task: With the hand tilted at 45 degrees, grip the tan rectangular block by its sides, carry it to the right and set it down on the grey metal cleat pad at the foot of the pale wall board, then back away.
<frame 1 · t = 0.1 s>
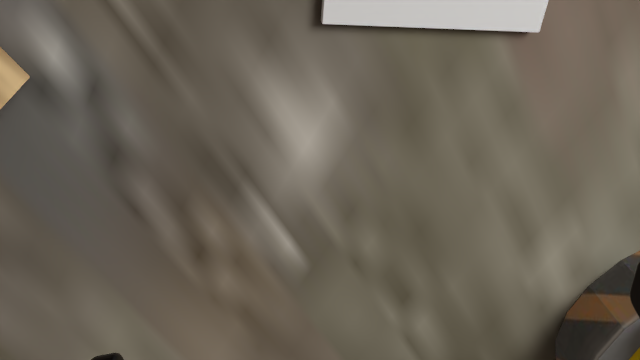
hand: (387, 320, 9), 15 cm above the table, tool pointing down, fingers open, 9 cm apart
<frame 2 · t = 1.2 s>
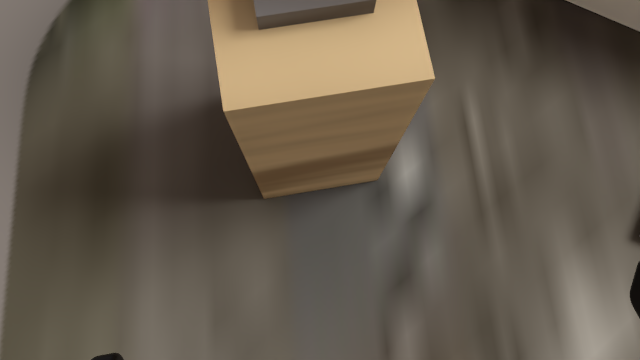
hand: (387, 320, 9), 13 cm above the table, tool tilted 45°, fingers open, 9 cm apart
tan rectangular block: (311, 135, 24), on the table
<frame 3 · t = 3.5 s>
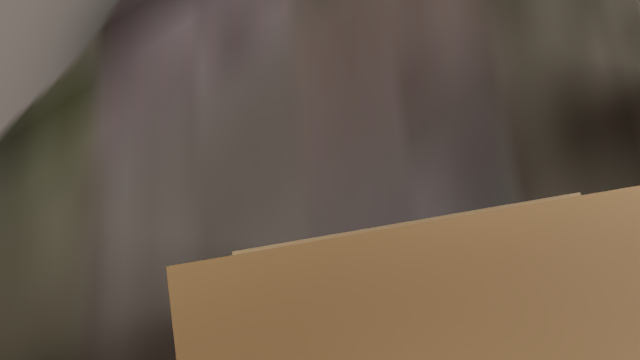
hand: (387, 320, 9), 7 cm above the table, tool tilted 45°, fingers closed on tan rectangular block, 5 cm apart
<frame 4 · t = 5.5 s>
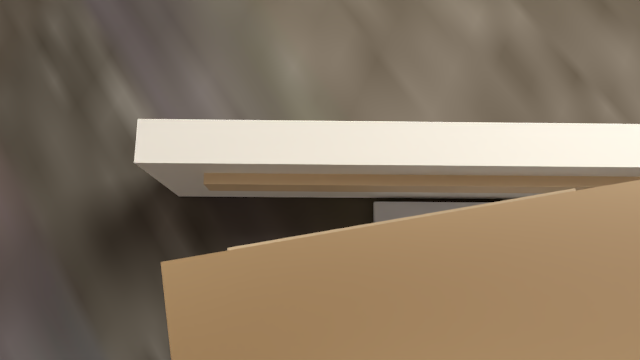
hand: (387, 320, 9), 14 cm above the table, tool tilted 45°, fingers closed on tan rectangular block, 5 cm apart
tan rectangular block: (362, 358, 15), point 7 cm above the table, touching gripper
wall board: (474, 182, 24), on the table
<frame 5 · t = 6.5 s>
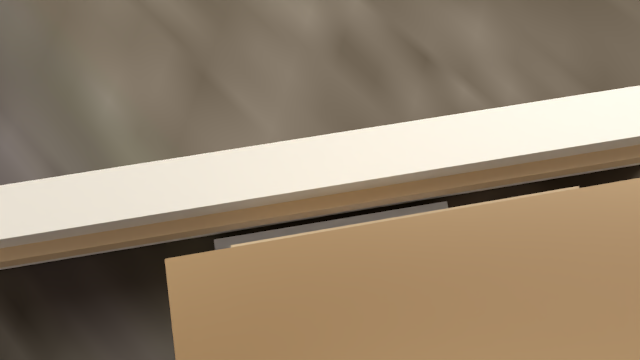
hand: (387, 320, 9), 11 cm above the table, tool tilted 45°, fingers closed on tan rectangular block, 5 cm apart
tan rectangular block: (363, 357, 15), point 5 cm above the table, touching gripper
wall board: (326, 196, 21), on the table
when the fingers open (8 cm above the table, at t = 7.5 s): tan rectangular block drops 1 cm, resting on wall board.
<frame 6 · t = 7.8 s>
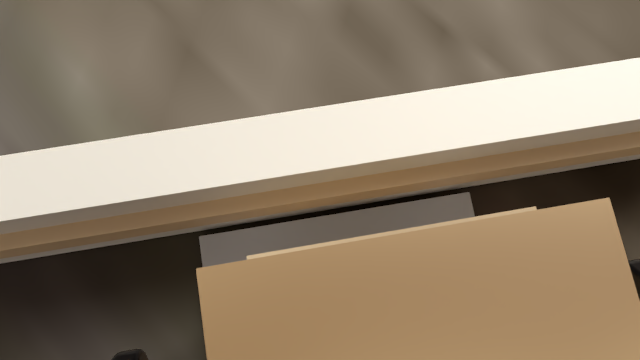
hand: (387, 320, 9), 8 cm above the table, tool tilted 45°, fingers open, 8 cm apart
tan rectangular block: (360, 353, 17), resting on wall board
wall board: (330, 187, 18), on the table
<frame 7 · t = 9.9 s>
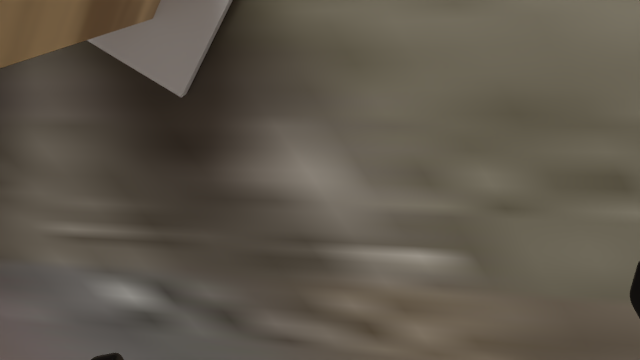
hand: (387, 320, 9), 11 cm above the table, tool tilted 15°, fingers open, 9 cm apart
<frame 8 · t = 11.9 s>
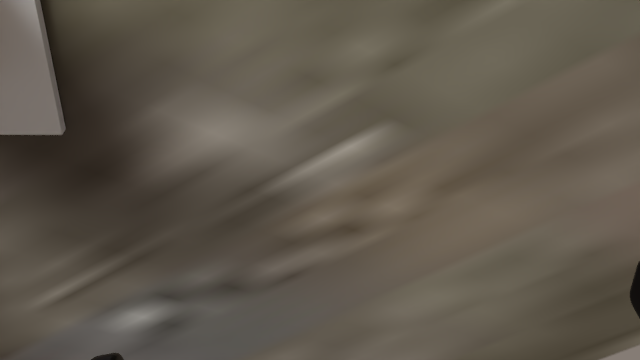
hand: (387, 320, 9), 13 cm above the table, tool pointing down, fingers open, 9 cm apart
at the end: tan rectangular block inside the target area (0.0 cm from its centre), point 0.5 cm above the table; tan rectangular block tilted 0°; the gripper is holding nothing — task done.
